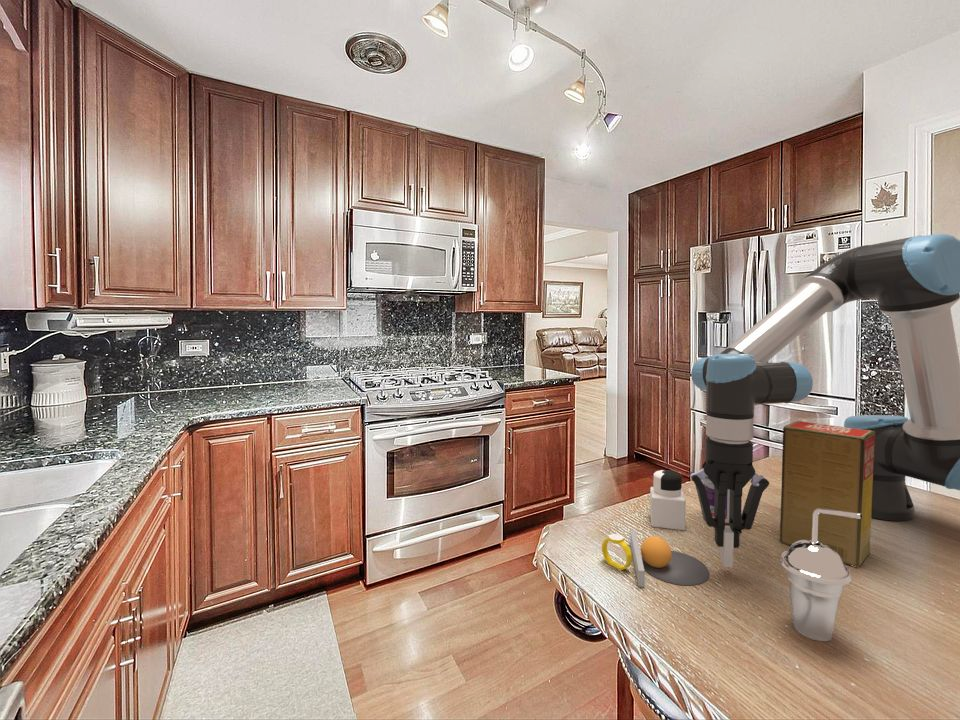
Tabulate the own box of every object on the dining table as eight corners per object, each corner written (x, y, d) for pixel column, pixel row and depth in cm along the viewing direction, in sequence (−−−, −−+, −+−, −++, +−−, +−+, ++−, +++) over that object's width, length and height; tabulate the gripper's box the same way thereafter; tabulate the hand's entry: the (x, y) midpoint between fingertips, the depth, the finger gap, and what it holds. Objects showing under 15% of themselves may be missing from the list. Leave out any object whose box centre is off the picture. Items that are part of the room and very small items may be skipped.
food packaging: (871, 552, 87) (877, 429, 85) (859, 569, 81) (865, 438, 79) (793, 529, 97) (796, 419, 95) (777, 542, 92) (780, 426, 90)
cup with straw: (812, 609, 70) (817, 489, 68) (869, 650, 61) (875, 513, 59) (764, 615, 69) (768, 492, 67) (815, 657, 60) (820, 518, 58)
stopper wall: (635, 543, 92) (635, 529, 92) (644, 587, 77) (644, 571, 77) (630, 543, 93) (630, 529, 92) (638, 586, 77) (638, 570, 77)
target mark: (700, 554, 87) (700, 553, 87) (717, 589, 76) (717, 588, 76) (637, 548, 90) (637, 547, 90) (644, 581, 79) (644, 580, 79)
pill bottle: (731, 511, 107) (732, 454, 106) (748, 525, 99) (749, 464, 98) (697, 510, 108) (698, 453, 107) (711, 525, 100) (712, 464, 99)
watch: (600, 564, 85) (598, 534, 85) (608, 559, 87) (606, 529, 87) (626, 575, 81) (624, 543, 80) (635, 569, 82) (633, 538, 82)
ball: (652, 563, 86) (675, 548, 85) (656, 579, 81) (680, 563, 80) (633, 541, 87) (656, 526, 86) (636, 555, 82) (660, 539, 80)
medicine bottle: (681, 517, 104) (682, 469, 103) (685, 531, 97) (686, 479, 96) (650, 514, 106) (650, 466, 106) (651, 527, 100) (651, 476, 99)
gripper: (761, 434, 81) (757, 556, 83) (685, 432, 84) (684, 549, 86) (778, 445, 74) (774, 578, 76) (694, 442, 77) (692, 569, 79)
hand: (726, 562), depth 81 cm, fingers closed
